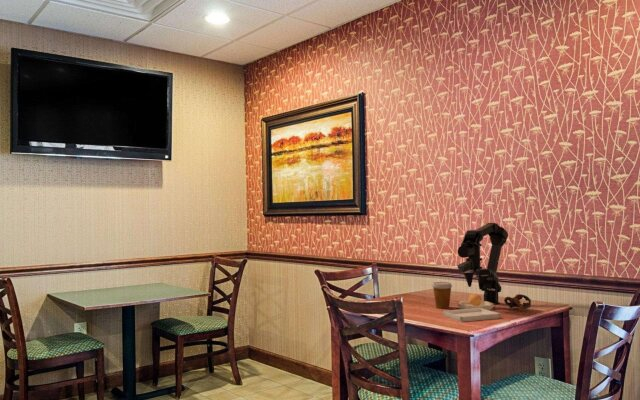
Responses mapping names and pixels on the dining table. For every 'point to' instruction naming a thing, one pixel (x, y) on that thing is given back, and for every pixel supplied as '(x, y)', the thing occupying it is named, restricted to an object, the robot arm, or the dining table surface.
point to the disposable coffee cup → (442, 294)
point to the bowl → (467, 305)
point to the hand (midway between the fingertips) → (475, 288)
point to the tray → (471, 314)
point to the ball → (475, 300)
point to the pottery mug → (518, 302)
